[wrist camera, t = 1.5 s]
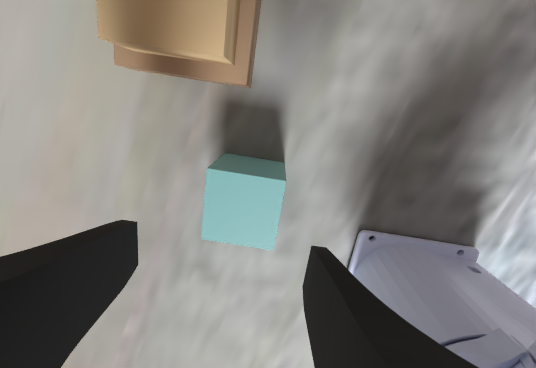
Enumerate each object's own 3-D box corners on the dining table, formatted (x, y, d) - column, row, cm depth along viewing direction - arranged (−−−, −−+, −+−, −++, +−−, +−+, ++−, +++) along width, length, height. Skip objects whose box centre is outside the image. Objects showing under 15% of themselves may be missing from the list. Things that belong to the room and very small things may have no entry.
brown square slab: (268, -48, 15) (265, -83, 13) (251, 88, 18) (246, 85, 15) (141, -68, 15) (109, -108, 13) (141, 71, 18) (114, 64, 15)
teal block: (284, 162, 19) (286, 181, 14) (274, 216, 20) (273, 250, 15) (225, 152, 19) (206, 168, 14) (219, 207, 20) (200, 238, 15)
